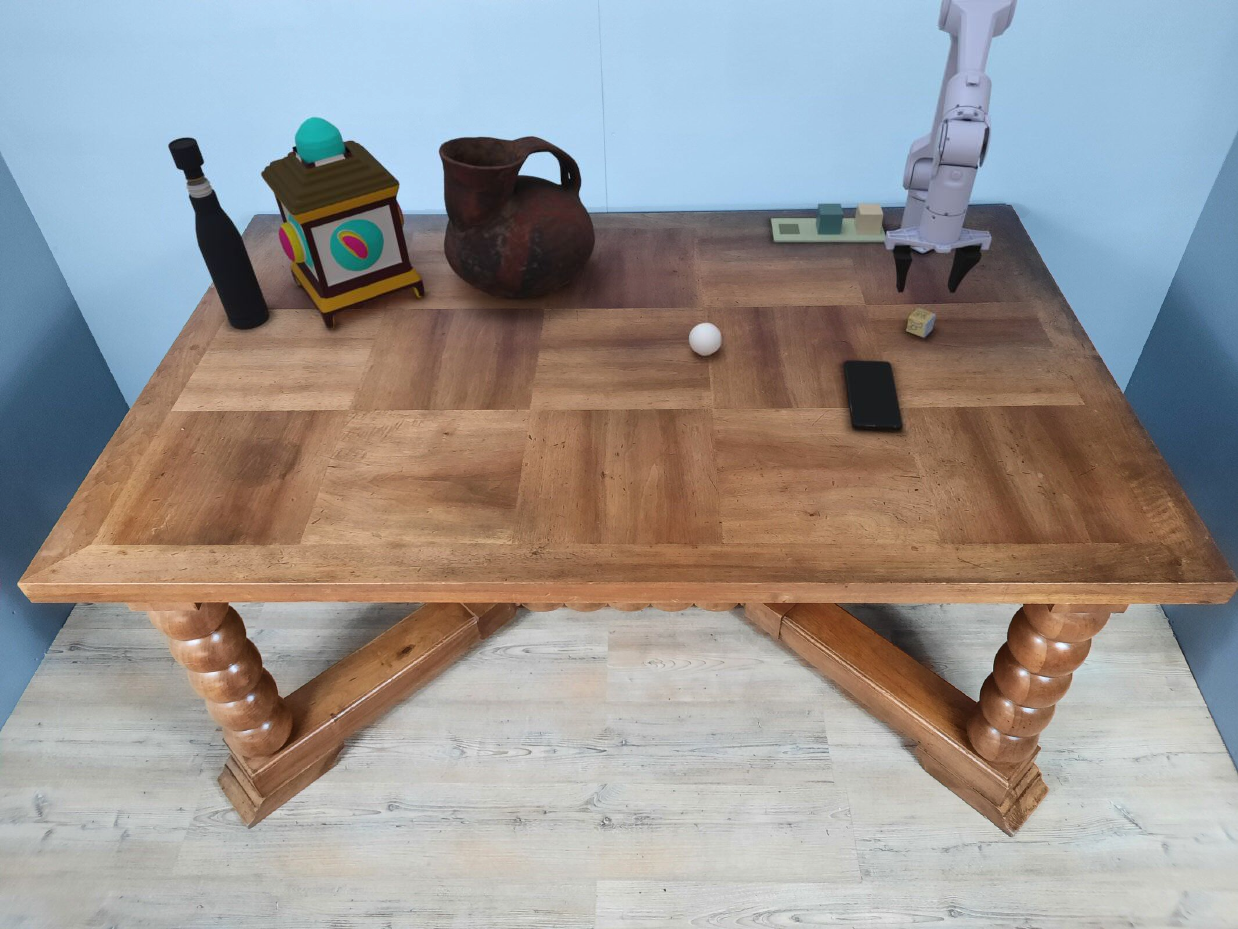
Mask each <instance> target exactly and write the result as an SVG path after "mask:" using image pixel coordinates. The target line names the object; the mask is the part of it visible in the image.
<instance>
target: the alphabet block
mask: <svg viewBox="0 0 1238 929" xmlns="http://www.w3.org/2000/svg"><path fill="white" fill-rule="evenodd" d="M936 317H937V314H936V313H934V312H931V311H928V310H926V309H923V308H920V307H917V308H916V309H915V310H914V311H913V312H912V313H911V314H910V315H909V316H908V319H907V326H906V329H905V330H906V332H907V333H910V334H912V335H916V336H918V337H920V338H923V339H925V338H926V337H927V336H928V335H929V334H930V333H931V332H932V331H933V330H934V325H935V321H936Z"/></svg>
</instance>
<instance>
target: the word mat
mask: <svg viewBox="0 0 1238 929" xmlns="http://www.w3.org/2000/svg"><path fill="white" fill-rule="evenodd" d="M854 221H855V217H843V221H842V227H841V233H840V235H818V232H817V228H816V217H815V218H814V217H811V218H809V217H806V218H805V217H803V218H801V217H799V218H797V217H796V218H795V217H793V218H792V217H791V218H789V217H787V218H786V217H785V218H784V217H783V218H781V217H779V218H778V217H777V218H772V217H771V218H770V225H771V230H772V237H773V243H884V242H885V238H886V233H885V229H884V228H883V224H882V225H881V230H880V234H857V232H856V228H855V225H854Z"/></svg>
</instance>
